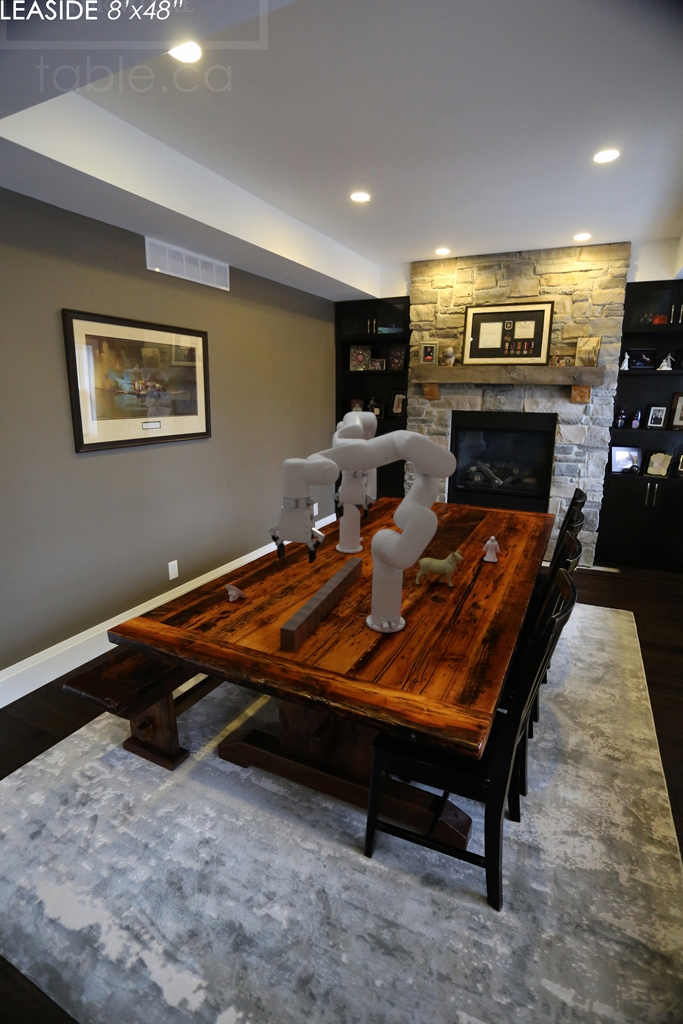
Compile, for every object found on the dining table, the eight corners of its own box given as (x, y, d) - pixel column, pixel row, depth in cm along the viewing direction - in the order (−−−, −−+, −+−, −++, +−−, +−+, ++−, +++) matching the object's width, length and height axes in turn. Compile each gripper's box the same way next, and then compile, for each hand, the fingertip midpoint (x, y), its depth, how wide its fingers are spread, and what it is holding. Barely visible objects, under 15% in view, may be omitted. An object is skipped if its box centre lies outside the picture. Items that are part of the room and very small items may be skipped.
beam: (294, 652, 144) (294, 630, 143) (280, 649, 146) (280, 627, 144) (362, 574, 205) (362, 558, 204) (351, 572, 207) (352, 557, 205)
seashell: (231, 609, 179) (216, 592, 179) (241, 599, 183) (227, 583, 182) (239, 604, 173) (224, 587, 172) (250, 595, 177) (235, 577, 176)
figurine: (481, 562, 222) (483, 536, 219) (482, 556, 230) (484, 531, 227) (499, 564, 220) (501, 538, 217) (499, 558, 228) (501, 533, 225)
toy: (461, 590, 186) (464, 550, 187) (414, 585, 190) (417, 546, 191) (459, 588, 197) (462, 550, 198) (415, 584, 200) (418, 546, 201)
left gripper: (379, 474, 190) (377, 517, 194) (336, 471, 195) (335, 513, 199) (373, 477, 183) (371, 522, 187) (329, 474, 188) (328, 517, 193)
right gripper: (329, 502, 142) (328, 559, 146) (274, 497, 147) (275, 552, 152) (319, 508, 135) (319, 568, 139) (262, 502, 140) (263, 560, 145)
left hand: (353, 517), depth 193 cm, fingers open, 9 cm apart
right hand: (296, 559), depth 145 cm, fingers open, 9 cm apart
